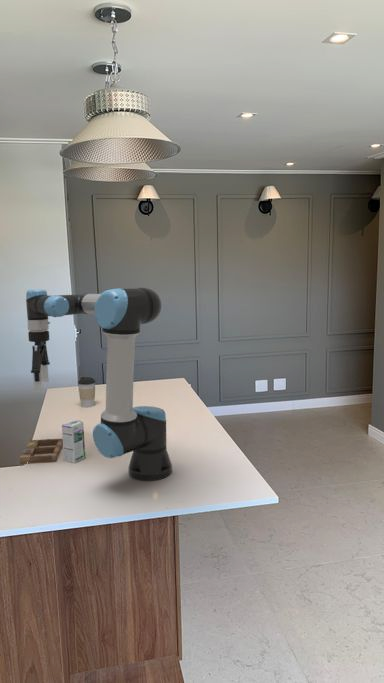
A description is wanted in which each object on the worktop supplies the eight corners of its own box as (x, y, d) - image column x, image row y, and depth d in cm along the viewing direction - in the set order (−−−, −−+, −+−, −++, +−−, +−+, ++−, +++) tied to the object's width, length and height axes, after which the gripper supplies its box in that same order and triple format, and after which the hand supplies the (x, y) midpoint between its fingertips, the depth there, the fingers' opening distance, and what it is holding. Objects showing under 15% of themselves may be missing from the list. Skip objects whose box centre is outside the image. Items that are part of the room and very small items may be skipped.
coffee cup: (100, 404, 261) (98, 377, 258) (87, 409, 253) (86, 380, 251) (87, 402, 265) (86, 375, 263) (75, 406, 258) (73, 378, 256)
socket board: (56, 461, 183) (55, 454, 182) (20, 463, 181) (19, 456, 181) (63, 444, 201) (63, 437, 201) (30, 446, 200) (30, 439, 199)
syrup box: (74, 463, 181) (72, 425, 179) (63, 460, 184) (61, 423, 182) (85, 458, 186) (84, 421, 184) (74, 455, 189) (72, 419, 187)
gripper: (42, 334, 173) (45, 393, 177) (54, 326, 198) (56, 378, 201) (20, 335, 173) (24, 393, 176) (35, 327, 197) (38, 378, 200)
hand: (41, 385), depth 188 cm, fingers open, 13 cm apart
